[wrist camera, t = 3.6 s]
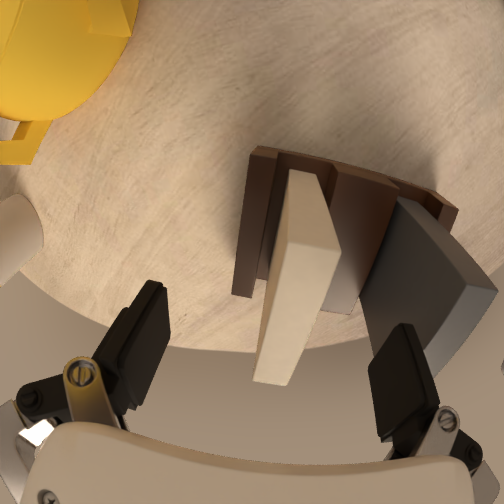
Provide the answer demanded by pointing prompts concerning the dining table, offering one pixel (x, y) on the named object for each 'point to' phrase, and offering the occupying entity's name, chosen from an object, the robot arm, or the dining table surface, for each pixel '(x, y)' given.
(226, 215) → the dining table surface
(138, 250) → the dining table surface
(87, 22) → the teapot
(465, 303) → the grey book
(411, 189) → the rack
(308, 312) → the white book
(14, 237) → the cup
